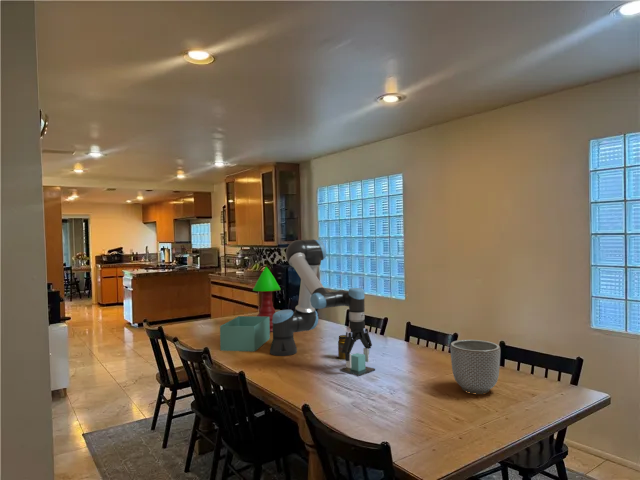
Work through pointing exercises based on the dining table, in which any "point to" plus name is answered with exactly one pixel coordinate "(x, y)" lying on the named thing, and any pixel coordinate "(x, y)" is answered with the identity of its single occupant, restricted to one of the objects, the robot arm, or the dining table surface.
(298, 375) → the dining table surface
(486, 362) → the planter
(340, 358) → the condiment
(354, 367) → the teal block
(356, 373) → the grey square plate
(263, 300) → the table lamp
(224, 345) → the box
